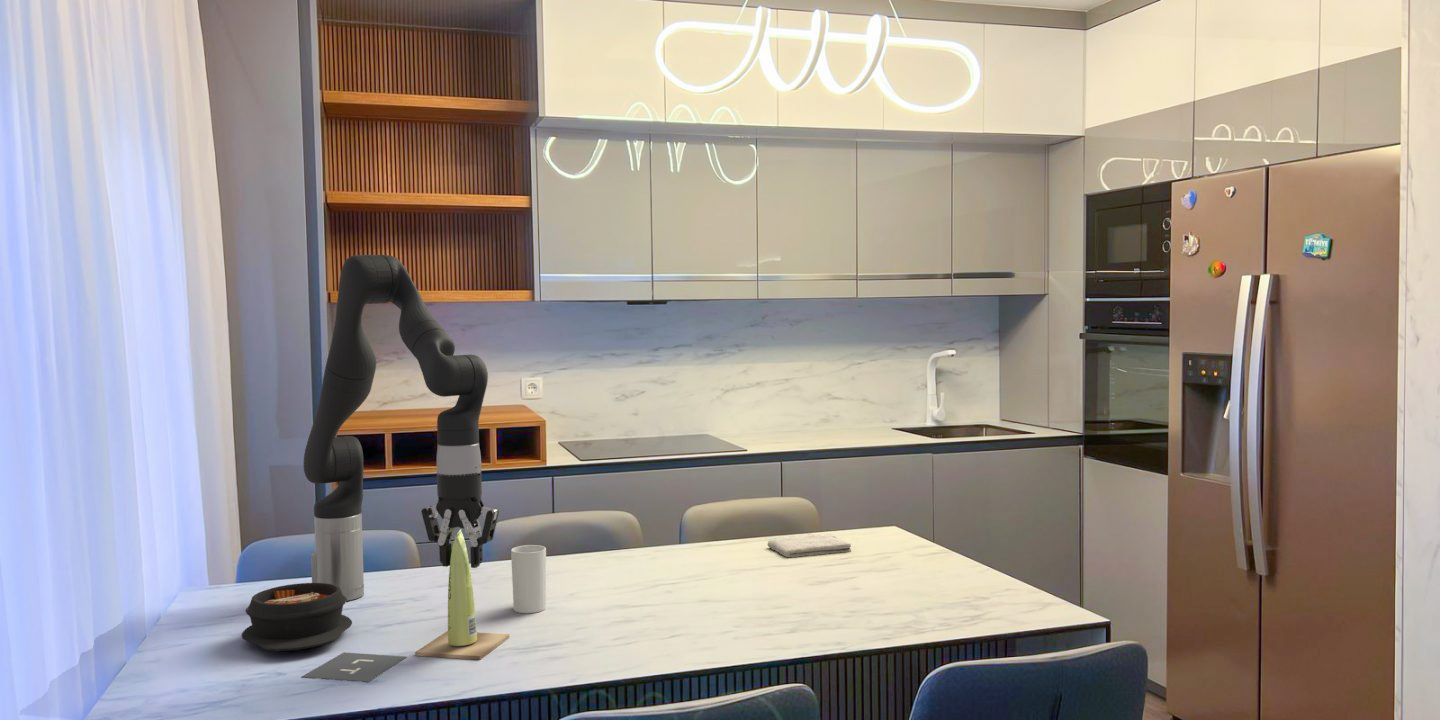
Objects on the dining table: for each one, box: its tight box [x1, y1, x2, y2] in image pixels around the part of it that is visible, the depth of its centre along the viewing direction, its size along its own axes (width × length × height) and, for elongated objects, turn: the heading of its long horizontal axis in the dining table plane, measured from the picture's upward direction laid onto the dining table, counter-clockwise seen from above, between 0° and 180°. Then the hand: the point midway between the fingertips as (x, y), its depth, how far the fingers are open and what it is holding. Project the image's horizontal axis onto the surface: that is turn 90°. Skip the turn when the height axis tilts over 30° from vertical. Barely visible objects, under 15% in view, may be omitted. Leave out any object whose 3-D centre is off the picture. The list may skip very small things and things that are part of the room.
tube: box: [447, 528, 477, 646], centre depth 181 cm, size 6×5×20 cm
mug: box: [510, 544, 547, 614], centre depth 205 cm, size 10×7×12 cm, turn 9°
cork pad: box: [414, 630, 511, 661], centre depth 181 cm, size 12×12×1 cm
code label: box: [300, 652, 408, 683], centre depth 171 cm, size 12×12×1 cm
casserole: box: [240, 582, 353, 652], centre depth 187 cm, size 25×19×8 cm
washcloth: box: [767, 533, 852, 558], centre depth 251 cm, size 12×18×3 cm, turn 110°
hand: (461, 565), depth 181 cm, fingers open, 4 cm apart
